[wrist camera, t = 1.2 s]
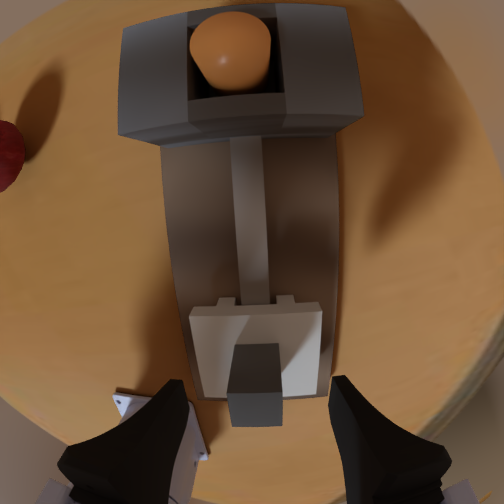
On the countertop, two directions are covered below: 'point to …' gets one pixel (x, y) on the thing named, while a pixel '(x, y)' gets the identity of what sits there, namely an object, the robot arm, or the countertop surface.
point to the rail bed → (248, 161)
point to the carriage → (257, 355)
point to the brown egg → (233, 53)
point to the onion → (10, 154)
